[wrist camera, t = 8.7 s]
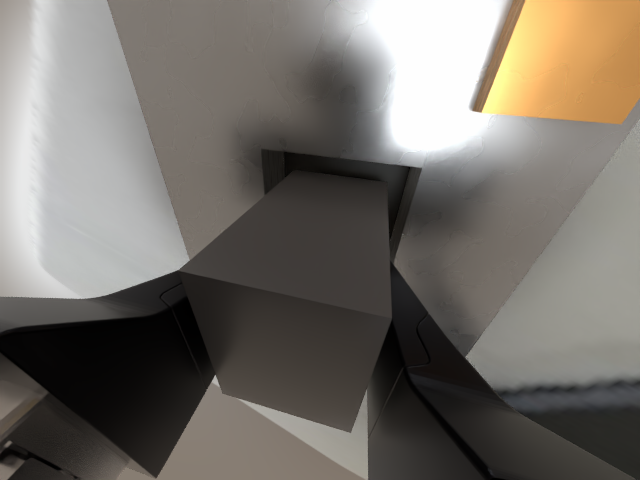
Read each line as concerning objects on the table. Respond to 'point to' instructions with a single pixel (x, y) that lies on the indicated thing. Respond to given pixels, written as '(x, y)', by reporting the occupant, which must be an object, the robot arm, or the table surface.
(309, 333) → the plug
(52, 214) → the table surface
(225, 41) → the socket plate
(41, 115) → the table surface
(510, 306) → the table surface
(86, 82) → the table surface
